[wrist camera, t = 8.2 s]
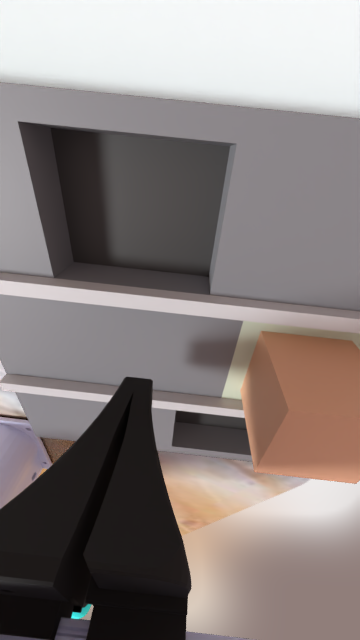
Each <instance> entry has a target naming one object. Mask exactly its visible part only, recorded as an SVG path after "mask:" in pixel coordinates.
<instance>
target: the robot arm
mask: <svg viewBox="0 0 360 640" xmlns="http://www.w3.org/2000/svg"><path fill="white" fill-rule="evenodd" d="M152 394H153V381H152V380H151V379H145V378H136V377H125V378H124V379H123V381H122V383H121V384H120V386H119V388H118V389H117V391H116V392H115V394H114V395H113V396H112V398H111V399H110V401H109V402H108V403H107V405H106V406H105V407H104V409H103V410H102V411H101V413H100V414H99V415H98V416H97V418H96V419H95V420H94V421H93V422H92V424H91V425H90V426H89V427H88V428H87V430H86V431H85V432H84V433H83V434H82V435H81V436H80V437H79V438H78V440H77V441H76V442H75V443H74V444H73V445H72V446H71V447H70V448H69V449H68V450H67V451H66V452H65V453H64V454H63V455H62V456H61V457H60V458H59V459H58V460H57V461H56V462H55V463H54V464H53V465H52V463H51V460H50V458H49V456H48V454H47V451H46V449H45V447H44V445H43V442H42V440H41V438H40V437H36V436H35V434H34V431H33V429H32V427H31V425H30V423H29V421H28V420H22V419H14V418H5V417H0V640H255V639H247V638H238V637H229V636H220V635H212V634H202V633H195V632H186V615H187V601H188V600H187V599H188V594H189V592H190V590H191V577H190V571H189V566H188V562H187V557H186V553H185V548H184V544H183V540H182V536H181V534H180V531H179V528H178V525H177V522H176V519H175V516H174V513H173V509H172V506H171V503H170V500H169V496H168V492H167V489H166V485H165V482H164V478H163V474H162V470H161V466H160V462H159V457H158V452H157V447H156V442H155V436H154V429H153V421H152V410H151V409H152ZM43 468H46V469H47V470H46V471H45V472H44V473H43V474H42V475H40V473H41V471H42V469H43ZM39 475H40V476H39ZM88 604H93V606H94V608H93V612H92V616H91V620H82V619H73V618H71V617H72V613H73V612H77V613H81V611H82V608H84V607H85V606H87V605H88Z"/></svg>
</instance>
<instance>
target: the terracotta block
mask: <svg viewBox="0 0 360 640" xmlns="http://www.w3.org/2000/svg"><path fill="white" fill-rule="evenodd" d="M240 392H241V398H242V404H243V409H244V415H245V421H246V427H247V432H248V438H249V444H250V450H251V455H252V461H253V467H254V472H259V473H267V474H276V475H285V476H293V477H302V478H311V479H320V480H328V481H337V482H345V483H354V484H356V483H357V482H358V481H359V480H360V350H359V348H358V347H357V346H356V345H355V344H354V342H353V341H350V340H340V339H331V338H322V337H313V336H304V335H295V334H286V333H277V332H268V331H261V332H260V335H259V338H258V341H257V344H256V346H255V349H254V352H253V355H252V358H251V361H250V364H249V367H248V370H247V373H246V375H245V378H244V381H243V384H242V387H241V390H240Z"/></svg>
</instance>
